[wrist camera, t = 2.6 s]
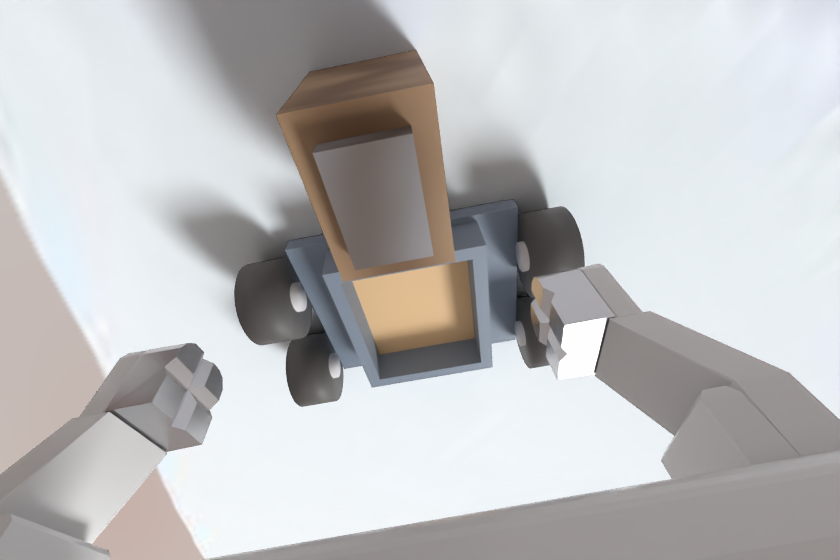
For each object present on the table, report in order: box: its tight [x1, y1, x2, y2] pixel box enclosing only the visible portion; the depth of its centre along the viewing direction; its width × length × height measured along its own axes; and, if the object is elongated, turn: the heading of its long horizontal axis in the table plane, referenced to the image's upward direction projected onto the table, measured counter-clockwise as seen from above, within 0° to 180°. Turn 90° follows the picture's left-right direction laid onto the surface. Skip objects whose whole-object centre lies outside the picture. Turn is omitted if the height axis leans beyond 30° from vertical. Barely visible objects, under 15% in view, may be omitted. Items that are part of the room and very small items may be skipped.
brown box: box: [276, 50, 455, 282], centre depth 16 cm, size 5×7×8 cm
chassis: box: [234, 199, 585, 407], centre depth 24 cm, size 19×12×5 cm, turn 99°
